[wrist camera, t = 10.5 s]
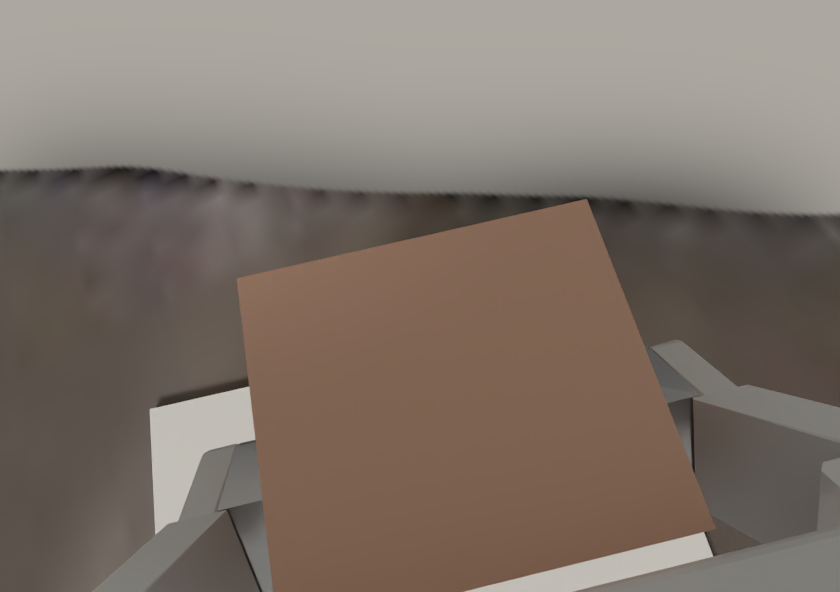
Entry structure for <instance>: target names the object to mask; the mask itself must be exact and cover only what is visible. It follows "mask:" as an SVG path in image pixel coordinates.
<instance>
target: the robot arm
mask: <svg viewBox="0 0 840 592" xmlns="http://www.w3.org/2000/svg"><path fill="white" fill-rule="evenodd" d="M645 349H646V351H647V354H648V356H649V359H650V362H651V364H652V367H653V369H654V372H655V374H656V377H657V379H658V382H659V384H660V387H661V390H662V392H663V395H664V397H665V400H666V402H667V405H668V407H669V410H670V413H671V415H672V418H673V420H674V423H675V425H676V428H677V430H678V433H679V435H680V438H681V441H682V443H683V446H684V448H685V451H686V453H687V456H688V458H689V461H690V464H691V466H692V469H693V471H694V474H695V476H696V479H697V481H698V484H699V486H700V489H701V492H702V494H703V497H704V499H705V502H706V504H707V507H708V509H709V512H710V515H712V516H714V517H715V518H717V519H719V520H721V521H723V522H724V523H726V524H728V525H730V526H732V527H733V528H735V529H737V530H739V531H741V532H742V533H744V534H746V535H748V536H750V537H751V538H753V539H755V540H757V541H759V542H760V543H762V545H758V546H754V547H750V548H746V549H742V550H738V551H734V552H730V553H726V554H722V555H718V556H714V557H710V558H706V559H702V560H698V561H694V562H690V563H686V564H682V565H678V566H674V567H670V568H665V569H661V570H657V571H653V572H649V573H645V574H641V575H637V576H633V577H629V578H625V579H621V580H617V581H613V582H609V583H605V584H601V585H597V586H593V587H589V588H585V589H581V590H577V591H573V592H840V408H839V407H835V406H831V405H827V404H823V403H819V402H815V401H811V400H807V399H803V398H799V397H795V396H791V395H787V394H783V393H779V392H775V391H771V390H767V389H763V388H759V387H754V386H750V385H745V386H740V387H737V386H736V385H735V384H734V383H732V382H731V381H730V380H729V379H727V378H726V377H725V376H724V375H723V374H721V373H720V372H719V371H718V370H716V369H715V368H714V367H713V366H712V365H710V364H709V363H708V362H707V361H705V360H704V359H703V358H702V357H701V356H699V355H698V354H697V353H696V352H694V351H693V350H692V349H691V348H690V347H688V346H687V345H686V344H685V343H683V342H682V341H679V340H672V341H669V342H665V343H661V344H658V345H654V346H651V347H647V348H645ZM92 592H273V587H272V579H271V570H270V561H269V553H268V544H267V536H266V527H265V518H264V510H263V501H262V492H261V484H260V475H259V466H258V458H257V449H256V440H252V441H248V442H243V443H240V444H232V445H228V446H225V447H221V448H217V449H213V450H209V451H207V452H205V453H204V454H203V455H202V458H201V460H200V463H199V466H198V468H197V471H196V474H195V477H194V479H193V482H192V485H191V488H190V490H189V493H188V496H187V498H186V501H185V504H184V507H183V509H182V512H181V515H180V517H179V520H178V521H177V522H173V523H169V524H167V525H166V526H165V527H164V528H163V529H162V530H160V531H159V532H158V533H157V534H156V535H155V536H154V537H153V538H152V539H150V540H149V541H148V542H147V543H146V544H145V545H144V546H143V547H141V548H140V549H139V550H138V551H137V552H136V553H135V554H134V555H132V556H131V557H130V558H129V559H128V560H127V561H126V562H125V563H123V564H122V565H121V566H120V567H119V568H118V569H117V570H116V571H115V572H113V573H112V574H111V575H110V576H109V577H108V578H107V579H106V580H104V581H103V582H102V583H101V584H100V585H99V586H98V587H97V588H95V589H94V590H93V591H92Z"/></svg>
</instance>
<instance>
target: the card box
mask: <svg viewBox="0 0 840 592" xmlns="http://www.w3.org/2000/svg"><path fill="white" fill-rule="evenodd" d="M237 284H238V293H239V302H240V310H241V319H242V328H243V336H244V345H245V354H246V362H247V371H248V380H249V388H250V397H251V406H252V414H253V423H254V432H255V440H256V449H257V458H258V466H259V475H260V484H261V492H262V501H263V510H264V518H265V527H266V536H267V544H268V553H269V561H270V570H271V579H272V587H273V592H464V591H468V590H472V589H476V588H480V587H484V586H488V585H493V584H497V583H501V582H505V581H509V580H513V579H517V578H521V577H525V576H529V575H533V574H537V573H541V572H545V571H549V570H553V569H557V568H561V567H565V566H569V565H573V564H577V563H581V562H585V561H589V560H593V559H597V558H602V557H606V556H610V555H614V554H618V553H622V552H626V551H630V550H634V549H638V548H642V547H646V546H650V545H654V544H658V543H662V542H666V541H670V540H674V539H678V538H682V537H686V536H690V535H694V534H698V533H702V532H706V531H710V530H715V529H716V527H715V525H714V522H713V520H712V517H711V515H710V512H709V509H708V507H707V504H706V502H705V499H704V497H703V494H702V492H701V489H700V486H699V484H698V481H697V479H696V476H695V474H694V471H693V469H692V466H691V464H690V461H689V458H688V456H687V453H686V451H685V448H684V446H683V443H682V441H681V438H680V435H679V433H678V430H677V428H676V425H675V423H674V420H673V418H672V415H671V413H670V410H669V407H668V405H667V402H666V400H665V397H664V395H663V392H662V390H661V387H660V384H659V382H658V379H657V377H656V374H655V372H654V369H653V367H652V364H651V362H650V359H649V356H648V354H647V351H646V349H645V346H644V344H643V341H642V339H641V336H640V333H639V331H638V328H637V326H636V323H635V321H634V318H633V316H632V313H631V311H630V308H629V305H628V303H627V300H626V298H625V295H624V293H623V290H622V288H621V285H620V282H619V280H618V277H617V275H616V272H615V270H614V267H613V265H612V262H611V260H610V257H609V254H608V252H607V249H606V247H605V244H604V242H603V239H602V237H601V234H600V232H599V229H598V226H597V224H596V221H595V219H594V216H593V214H592V211H591V209H590V206H589V203H588V201H587V199H584V200H580V201H575V202H571V203H567V204H562V205H558V206H553V207H549V208H545V209H540V210H536V211H531V212H527V213H523V214H518V215H514V216H509V217H505V218H501V219H496V220H492V221H487V222H483V223H479V224H474V225H470V226H466V227H461V228H457V229H452V230H448V231H444V232H439V233H435V234H430V235H426V236H422V237H417V238H413V239H408V240H404V241H400V242H395V243H391V244H386V245H382V246H378V247H373V248H369V249H364V250H360V251H356V252H351V253H347V254H342V255H338V256H334V257H329V258H325V259H320V260H316V261H312V262H307V263H303V264H298V265H294V266H290V267H285V268H281V269H276V270H272V271H268V272H263V273H259V274H254V275H250V276H246V277H241V278H237Z"/></svg>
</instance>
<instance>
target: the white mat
mask: <svg viewBox="0 0 840 592" xmlns="http://www.w3.org/2000/svg"><path fill="white" fill-rule="evenodd" d="M150 427H151V449H152V470H153V492H154V513H155V535H156V534H157V533H158V532H159V531H160V530H162V529H163V528H164V527H165V526H166V525H167V524H169V523H173V522H177V521H178V520H179V517H180V515H181V512H182V509H183V507H184V504H185V501H186V498H187V496H188V493H189V490H190V488H191V485H192V482H193V479H194V477H195V474H196V471H197V468H198V466H199V463H200V460H201V458H202V455H203V454H204V453H205V452H207V451H209V450H213V449H217V448H221V447H225V446H228V445H232V444H240V443H243V442H248V441H252V440H255V432H254V423H253V414H252V406H251V397H250V388H249V387H245V388H240V389H236V390H231V391H227V392H223V393H218V394H214V395H210V396H205V397H201V398H196V399H192V400H188V401H183V402H179V403H175V404H170V405H166V406H161V407H157V408H153V409H150ZM710 557H713V555H712V552H711V549H710V547H709V544H708V541H707V539H706V536H705V534H704V532H702V533H698V534H694V535H690V536H686V537H682V538H678V539H674V540H670V541H666V542H662V543H658V544H654V545H650V546H646V547H642V548H638V549H634V550H630V551H626V552H622V553H618V554H614V555H610V556H606V557H602V558H597V559H593V560H589V561H585V562H581V563H577V564H573V565H569V566H565V567H561V568H557V569H553V570H549V571H545V572H541V573H537V574H533V575H529V576H525V577H521V578H517V579H513V580H509V581H505V582H501V583H497V584H493V585H488V586H484V587H480V588H476V589H472V590H468V591H464V592H573V591H577V590H581V589H585V588H589V587H593V586H597V585H601V584H605V583H609V582H613V581H617V580H621V579H625V578H629V577H633V576H637V575H641V574H645V573H649V572H653V571H657V570H661V569H665V568H670V567H674V566H678V565H682V564H686V563H690V562H694V561H698V560H702V559H706V558H710Z"/></svg>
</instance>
